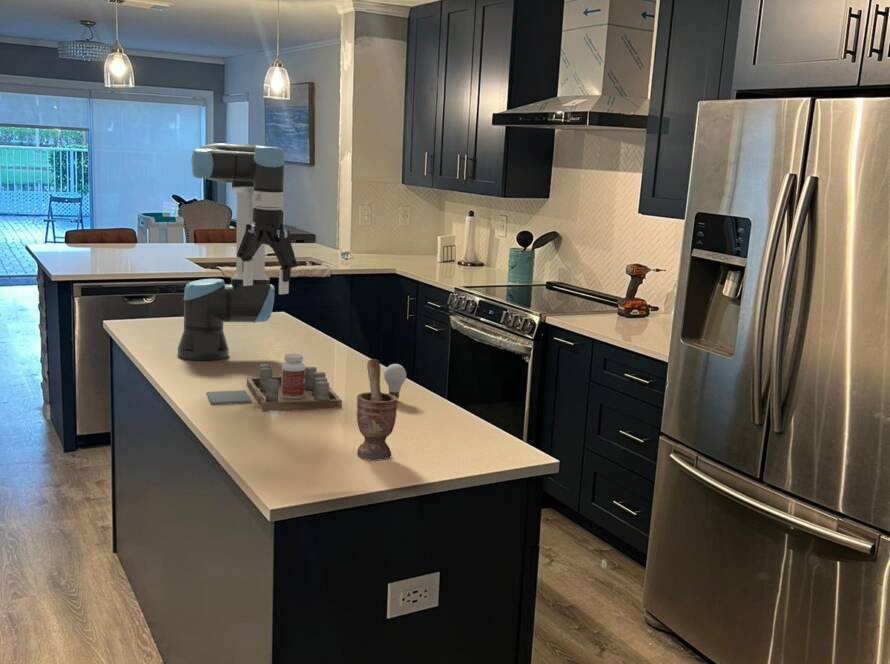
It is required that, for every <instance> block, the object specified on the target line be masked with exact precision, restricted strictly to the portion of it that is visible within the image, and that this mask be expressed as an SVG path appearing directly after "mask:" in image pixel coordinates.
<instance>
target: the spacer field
mask: <svg viewBox="0 0 890 664" xmlns="http://www.w3.org/2000/svg"><path fill="white" fill-rule="evenodd" d="M317 369H318V368H317V367H315V366H305V391H306V392H312V396H313V399H312V400H309V399H308V400H287V401H286V400H285V401H284V400H281V401H279V399H280V397H279V394H280V386H281V376H276V377H273V368H272V364H269V363H264V364H263V363H262V364H259V369H258V370H259V373H258V377H247V378H246V387H247V388H248V391H250V393H251V394H252V397H254V399H255V401H256V403H257V404H258V406H259V407H260V409H261V411H262V412H273V411H275V412H276V411H277V412H278V411H296V410H297V411H298V410H301V411H302V410H319V409H320V410H321V409H322V410H323V409H325V410H326V409H342V408H343V407H342V406H343V405H342V404H343V399H341V397H339V395H338V394H337V393H336V391H334V390H333V389H332V388H331V387H330V382H328V378H326V372H323V371H317ZM258 388H259V389H258ZM261 393H265V398H264V396H263V395H262V394H261Z"/></svg>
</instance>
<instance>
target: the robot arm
mask: <svg viewBox="0 0 890 664" xmlns="http://www.w3.org/2000/svg"><path fill="white" fill-rule="evenodd" d="M190 162H191V168H192V171H191V172H192V176H193V177H194V178H196V179H203V180H209V181H210V180H211V181H215V182H219V183H230V184H231V190H232V191H233V192H234V193H235V195H236V247H235V248H236V250H235V251H236V252H235V253H236V263H235V264H236V267H235V270H236V271H235V273H234V275H233V276H231V278H230V283H228V284H226V283H225V281H224V279H221V278H204V279H198V280H193V281H191V282H188V283H187V284H185V286H184V292H183V293H184V294H183V301H184V303H183V305H184V306H183V307H184V308H183V309H184V310H183V332H182V335H181V336H180V337H181V338H180V340H179V343H178V346H177V357H179V358H181V359H186V360H191V361H217V360H218V361H219V360H223V359H226V358H228V357H229V356H230V354H229V353H230V351H229V350H230V349H229V344H228V343H227V339H226V336H225V332H224V323H255V324H256V323H265V322H268V321H269V320H270V318H271V315H272V313H273V307H274V303H275V286H274V285H273V284H270V277H268V276H267V274H266V273H265V272H266V270H265V269H266V268H265V265H266V263H265V262H266V253H265V252H266V251H265V250H266V246H269V247H270V248H272V251H273V253H274V255H275V256H276V258H277V261H278V263H279V264H280V268H279V270H278V271H279V272H278V273H279V275H278V276H279V277H278V295H280V296H281V295H286V294H287V295H288V294H289V289H290V288H289V286H290V284H289V283H290V282H291V270H292V269H293V268H297V267H298V263H297V258H296V256H295V252H294V249H293V245H292V242H291V238H290V230H289V229H281V225H282V224H283V217H284V216H283V213H284V211H283V209H281V208H283V207H284V179H285V177H284V176H285V164H286V160H285V150H284V149H283V148H282V147H277V146H268V145H267V146H264V145H257V144H238V143H225V142H223V143H222V142H218V143H211V144H205V145H202V146H200V147H198V148H196V149H194V150H192V155H191V161H190Z"/></svg>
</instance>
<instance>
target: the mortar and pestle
mask: <svg viewBox="0 0 890 664" xmlns="http://www.w3.org/2000/svg"><path fill="white" fill-rule="evenodd" d="M380 363H381V362H380V360H379V359H377V358H372V359H369V360H368V361H367V364H366V365H367V366H366V367H367V375H368V380H369V387H370V391H369V392H363V393H359V394H357V397H356V407H357V408H356V409H357V410H356V421H357V422H356V423H357V426H358V431H359V432H360V434H361V435H362V436H363V437H364V441H363V443H361V444H360V445H359V447H358V449H357V451H356V452H357V453H356V455H357V456H358V457H360V458H363V459H365V458H366V460H368V459H370V460H369V461H371V460H376V461H380V460H386V459H389V458H391V457H392V451H391V448H390V446H389V445H388V444H387V442H386V440H387V438H388V437H389V436H390V435H391V434H392V432H393V431H394V428H395V424H396V420H397V409H398V399H397V397H396V396H394V395H391V394H389V393H384V392H381V364H380ZM390 456H391V457H390Z"/></svg>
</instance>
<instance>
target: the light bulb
mask: <svg viewBox="0 0 890 664" xmlns="http://www.w3.org/2000/svg"><path fill="white" fill-rule="evenodd" d="M406 371H407V370H405V368H404V367H403V365H401V364H399V363H392V364H389V365H388V366H387V367H386V368H385V369H384V373H383V378H384V381H385V382H386V385H387V387H388V394H391V395H394V396H396V397H397V400H399V398H400V391H401V388H402V386H403V384H404V383H405V381H406V379H407V372H406Z"/></svg>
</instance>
